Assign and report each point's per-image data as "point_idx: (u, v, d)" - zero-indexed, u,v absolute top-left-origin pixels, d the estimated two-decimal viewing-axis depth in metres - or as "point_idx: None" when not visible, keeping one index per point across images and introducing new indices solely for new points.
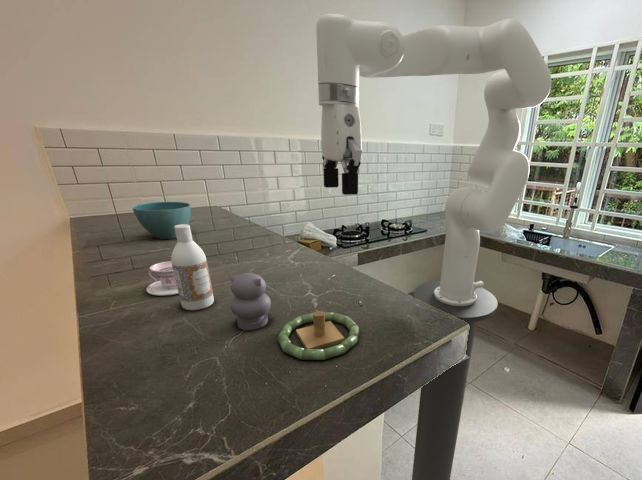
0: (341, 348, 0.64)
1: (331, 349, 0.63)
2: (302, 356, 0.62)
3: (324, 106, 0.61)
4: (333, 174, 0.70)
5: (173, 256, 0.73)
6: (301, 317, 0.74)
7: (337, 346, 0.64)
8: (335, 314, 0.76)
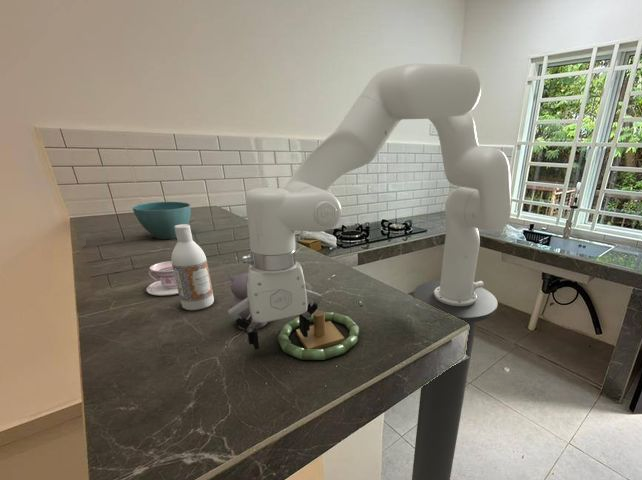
0: (341, 348, 0.64)
1: (331, 349, 0.63)
2: (302, 356, 0.62)
3: None
4: (301, 323, 0.66)
5: (173, 256, 0.73)
6: None
7: (337, 346, 0.64)
8: (335, 314, 0.76)
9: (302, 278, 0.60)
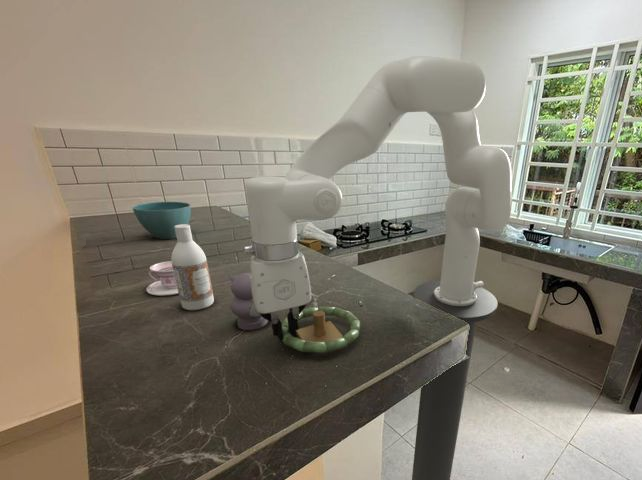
0: (343, 341, 0.64)
1: (332, 342, 0.63)
2: (303, 348, 0.61)
3: None
4: (289, 323, 0.64)
5: (173, 256, 0.73)
6: (302, 311, 0.73)
7: (338, 339, 0.64)
8: (336, 309, 0.75)
9: (305, 268, 0.60)
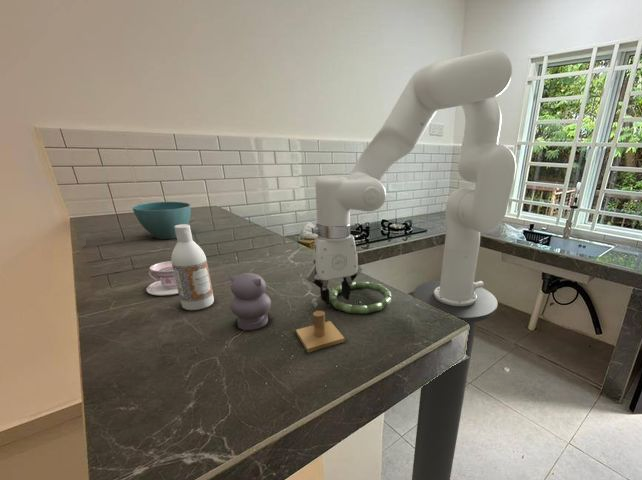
0: (380, 305, 0.81)
1: (373, 306, 0.80)
2: (351, 310, 0.79)
3: None
4: (344, 288, 0.83)
5: (173, 256, 0.73)
6: None
7: (377, 303, 0.81)
8: (370, 283, 0.93)
9: (354, 246, 0.78)
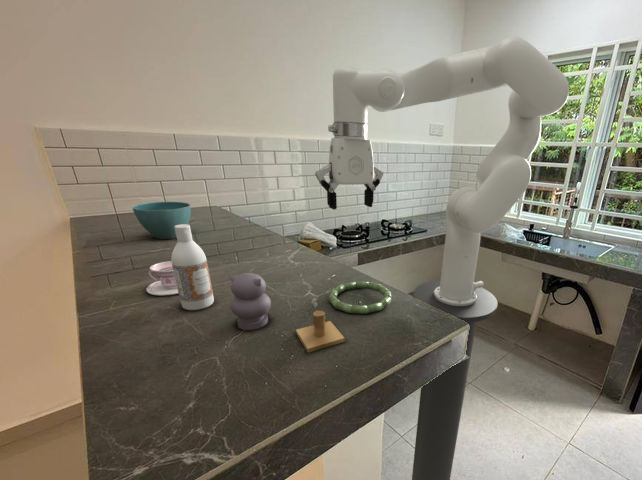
0: (380, 305, 0.81)
1: (373, 306, 0.80)
2: (351, 310, 0.79)
3: None
4: (367, 195, 0.81)
5: (173, 256, 0.73)
6: (344, 284, 0.91)
7: (377, 303, 0.81)
8: (370, 283, 0.93)
9: (371, 150, 0.76)
